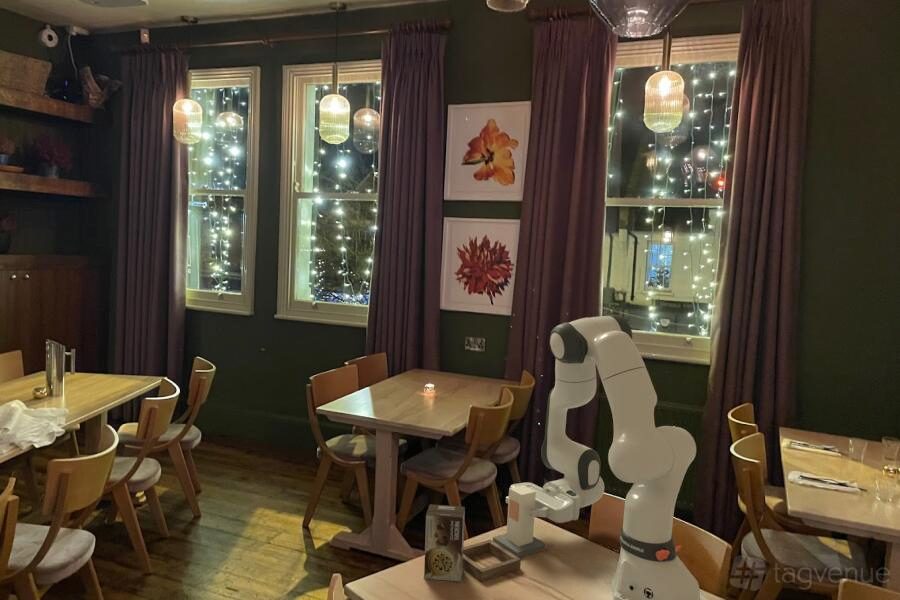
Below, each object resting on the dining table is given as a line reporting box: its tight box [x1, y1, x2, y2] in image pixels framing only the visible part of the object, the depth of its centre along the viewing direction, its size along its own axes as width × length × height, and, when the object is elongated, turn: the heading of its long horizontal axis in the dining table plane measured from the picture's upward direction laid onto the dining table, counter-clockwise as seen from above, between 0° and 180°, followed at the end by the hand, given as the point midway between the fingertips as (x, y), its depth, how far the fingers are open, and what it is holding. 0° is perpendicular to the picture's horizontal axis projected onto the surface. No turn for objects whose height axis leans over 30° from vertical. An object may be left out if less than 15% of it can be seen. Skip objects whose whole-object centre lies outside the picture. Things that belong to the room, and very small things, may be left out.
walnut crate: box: [463, 539, 522, 582], centre depth 165 cm, size 12×12×2 cm
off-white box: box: [506, 485, 536, 547], centre depth 175 cm, size 5×5×14 cm
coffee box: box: [423, 503, 466, 582], centre depth 159 cm, size 9×6×16 cm
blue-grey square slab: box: [492, 532, 547, 558], centre depth 176 cm, size 10×10×2 cm
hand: (518, 507), depth 174 cm, fingers open, 8 cm apart
